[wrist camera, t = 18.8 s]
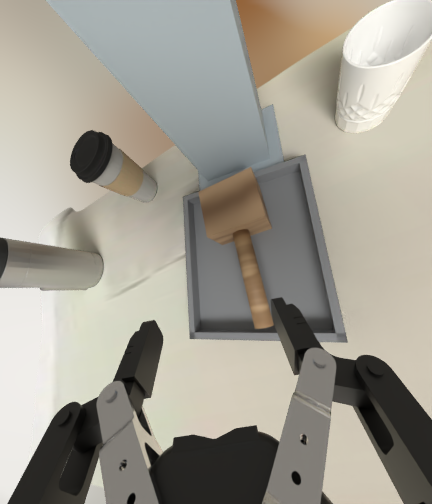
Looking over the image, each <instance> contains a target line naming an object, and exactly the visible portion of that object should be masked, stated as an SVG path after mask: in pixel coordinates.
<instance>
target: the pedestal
mask: <svg viewBox="0 0 432 504" xmlns="http://www.w3.org/2000/svg"><path fill="white" fill-rule="evenodd" d="M46 1H47V2H48V4H49V5H50V6H51V7H52V8H53V9H54V10H55V11H56V12H57V14H58V15H59V16H60V17H61V18H62V19H63V20H64V21H65V22H66V24H67V25H68V26H69V27H70V28H71V29H72V30H73V31H74V33H75V34H76V35H77V36H78V37H79V38H80V39H81V40H82V41H83V43H84V44H85V45H86V46H87V47H88V48H89V49H90V50H91V51H92V53H93V54H94V55H95V56H96V57H97V58H98V59H99V60H100V61H101V63H102V64H103V65H104V66H105V67H106V68H107V69H108V70H109V71H110V72H111V74H112V75H113V76H114V77H115V78H116V79H117V80H118V81H119V83H120V84H121V85H122V86H123V87H124V88H125V89H126V90H127V92H128V93H129V94H130V95H131V96H132V97H133V98H134V99H135V100H136V102H137V103H138V104H139V105H140V106H141V107H142V108H143V109H144V110H145V111H146V113H147V114H148V115H149V116H150V117H151V118H152V119H153V120H154V121H155V123H156V124H157V125H158V126H159V127H160V128H161V129H162V130H163V132H164V133H165V134H166V135H167V136H168V137H169V138H170V139H171V140H172V141H173V143H174V144H175V145H176V146H177V147H178V148H179V149H180V150H181V152H182V153H183V154H184V155H185V156H186V157H187V158H188V159H189V161H190V162H191V163H192V164H193V165H194V166H195V167H196V168H197V169H198V174H199V188H200V191H201V190H203V189H206V188H208V187H210V186H212V185H214V184H216V183H218V182H220V181H222V180H224V179H227V178H229V177H231V176H233V175H235V174H237V173H239V172H241V171H243V170H245V169H248V168H250V167H251V168H252V170H253V172H256V171H259V170H262V169H265V168H268V167H271V166H273V165H276V164H279V163H282V162H284V159H283V154H282V149H281V144H280V138H279V133H278V128H277V123H276V118H275V112H274V107H273V104H272V105H270V106H268V107H266V108H264V109H262V110H261V106H260V102H259V97H258V93H257V89H256V85H255V80H254V76H253V72H252V68H251V63H250V59H249V55H248V50H247V46H246V42H245V38H244V33H243V29H242V25H241V21H240V16H239V12H238V8H237V4H236V0H46Z"/></svg>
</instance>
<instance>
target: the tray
mask: <svg viewBox="0 0 432 504" xmlns="http://www.w3.org/2000/svg"><path fill="white" fill-rule="evenodd" d="M253 173H254V175H255V177H256V180H257V182H258V184H259V187H260V190H261V193H262V196H263V200H264V203H265V206H266V210H267V213H268V216H269V220H270V223H271V226H272V229H269V230H266V231H263V232H260V233H257V234H254V235H251V240H252V244H253V248H254V252H255V255H256V259H257V263H258V267H259V270H260V274H261V278H262V282H263V286H264V289H265V293H266V297H267V301H268V305H269V308H270V312H271V299H274V298H279V297H282V298H283V299H284V301H285V303H286V305H287V304H293V305H295V306H296V307H297V308H298V309H299V310H300V311H301V313H302V315H303V317H304V318H305V320H306V321H307V323H308V325H309V326H310V328H311V330H312V331H313V333H314V335H315V336H316V338H317V340H318V341H319V342H346V343H348V341H347V337H346V333H345V328H344V324H343V319H342V315H341V310H340V306H339V302H338V297H337V293H336V288H335V284H334V279H333V275H332V270H331V266H330V262H329V257H328V253H327V248H326V244H325V239H324V235H323V230H322V226H321V222H320V217H319V213H318V208H317V204H316V199H315V195H314V191H313V186H312V182H311V177H310V173H309V168H308V164H307V159H306V155H302V156H299V157H297V158H294V159H291V160H288V161H285V162H282V163H279V164H276V165H273V166H271V167H268V168H265V169H262V170H259V171H256V172H253ZM198 192H199V191H198ZM198 192H195V193H193V194H190V195H187V196H184V197H183V206H184V227H185V248H186V269H187V290H188V312H189V333H190V339H217V340H260V341H280V338H279V336H278V333H277V331H276V328H275V325H273V326H271V327H267V328H261V329H255V327H254V323H253V318H252V314H251V310H250V306H249V301H248V297H247V293H246V289H245V285H244V280H243V276H242V272H241V268H240V263H239V259H238V255H237V251H236V246H235V242H234V241H233V242H230V243H227V244H224V245H221V244H219V243H218V242H216V241H214V240H212V239H210V238H208V237H207V234H206V229H205V224H204V219H203V214H202V208H201V203H200V198H199V193H198ZM271 316H272V314H271ZM272 320H273V319H272ZM273 324H274V323H273Z"/></svg>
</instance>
